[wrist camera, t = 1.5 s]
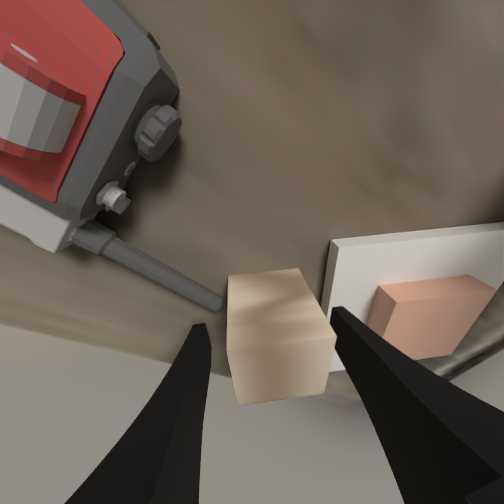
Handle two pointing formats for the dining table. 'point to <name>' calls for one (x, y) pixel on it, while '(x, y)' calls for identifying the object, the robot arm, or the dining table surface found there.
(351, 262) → the base plate
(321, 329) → the birch block
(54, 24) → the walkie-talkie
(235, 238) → the dining table surface
